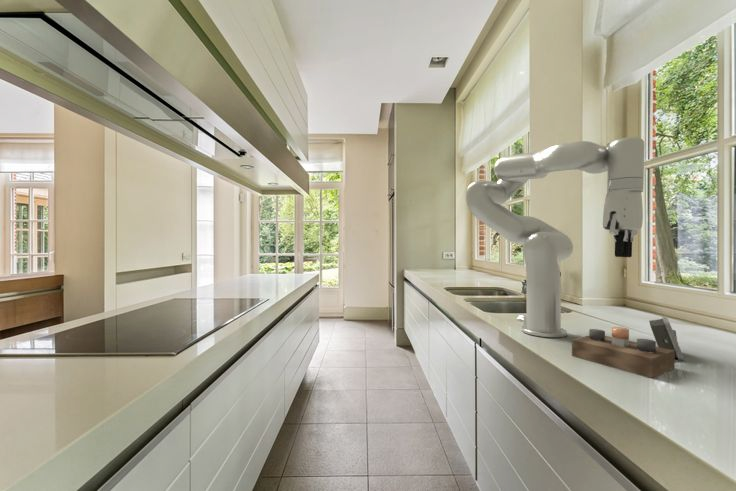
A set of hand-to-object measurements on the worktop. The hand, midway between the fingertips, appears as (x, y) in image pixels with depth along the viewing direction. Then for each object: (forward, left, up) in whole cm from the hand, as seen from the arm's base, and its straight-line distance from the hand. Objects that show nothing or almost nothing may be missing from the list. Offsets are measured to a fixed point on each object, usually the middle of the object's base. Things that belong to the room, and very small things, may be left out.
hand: (623, 256), depth 87 cm
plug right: (+9, -11, -24) cm, 28 cm away
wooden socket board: (+4, -11, -24) cm, 27 cm away
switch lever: (-1, -11, -24) cm, 27 cm away
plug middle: (+4, -11, -22) cm, 25 cm away
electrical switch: (+7, +5, -25) cm, 26 cm away
